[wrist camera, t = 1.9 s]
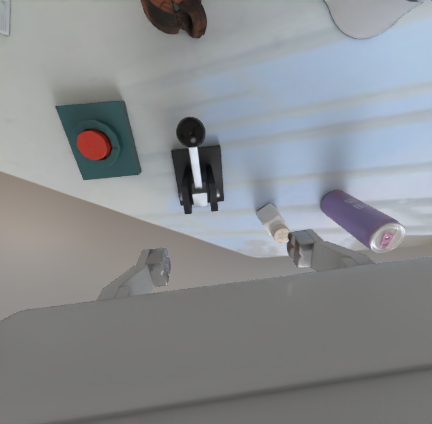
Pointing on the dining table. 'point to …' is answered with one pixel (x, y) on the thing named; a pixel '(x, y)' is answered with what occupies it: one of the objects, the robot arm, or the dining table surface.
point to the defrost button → (93, 144)
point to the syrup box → (4, 17)
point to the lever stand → (209, 174)
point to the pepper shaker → (273, 223)
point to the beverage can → (363, 221)
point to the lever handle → (194, 155)
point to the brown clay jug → (177, 16)
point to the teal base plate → (112, 128)
